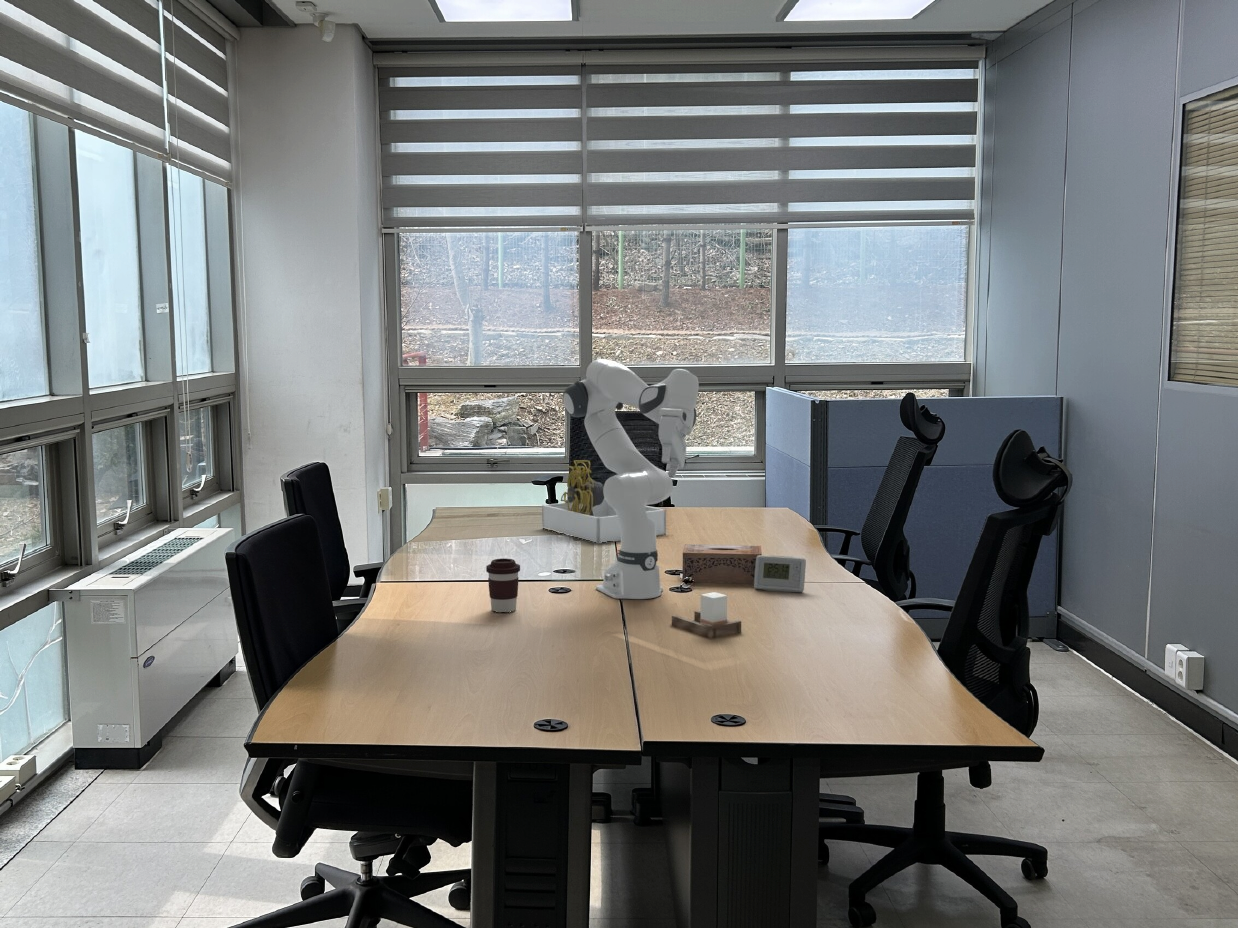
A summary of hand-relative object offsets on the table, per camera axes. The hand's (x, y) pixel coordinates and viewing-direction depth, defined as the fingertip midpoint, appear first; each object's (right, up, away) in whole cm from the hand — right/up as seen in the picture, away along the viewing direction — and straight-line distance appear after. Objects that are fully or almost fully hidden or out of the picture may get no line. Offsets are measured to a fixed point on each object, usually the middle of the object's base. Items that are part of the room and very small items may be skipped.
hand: (668, 469), depth 291 cm
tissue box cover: (+21, -37, +72) cm, 84 cm away
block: (+12, -44, +1) cm, 45 cm away
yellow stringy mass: (-19, -27, +157) cm, 160 cm away
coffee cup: (-47, -42, +29) cm, 69 cm away
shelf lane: (+10, -45, +3) cm, 46 cm away
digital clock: (+38, -39, +54) cm, 77 cm away
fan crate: (-20, -26, +157) cm, 160 cm away
